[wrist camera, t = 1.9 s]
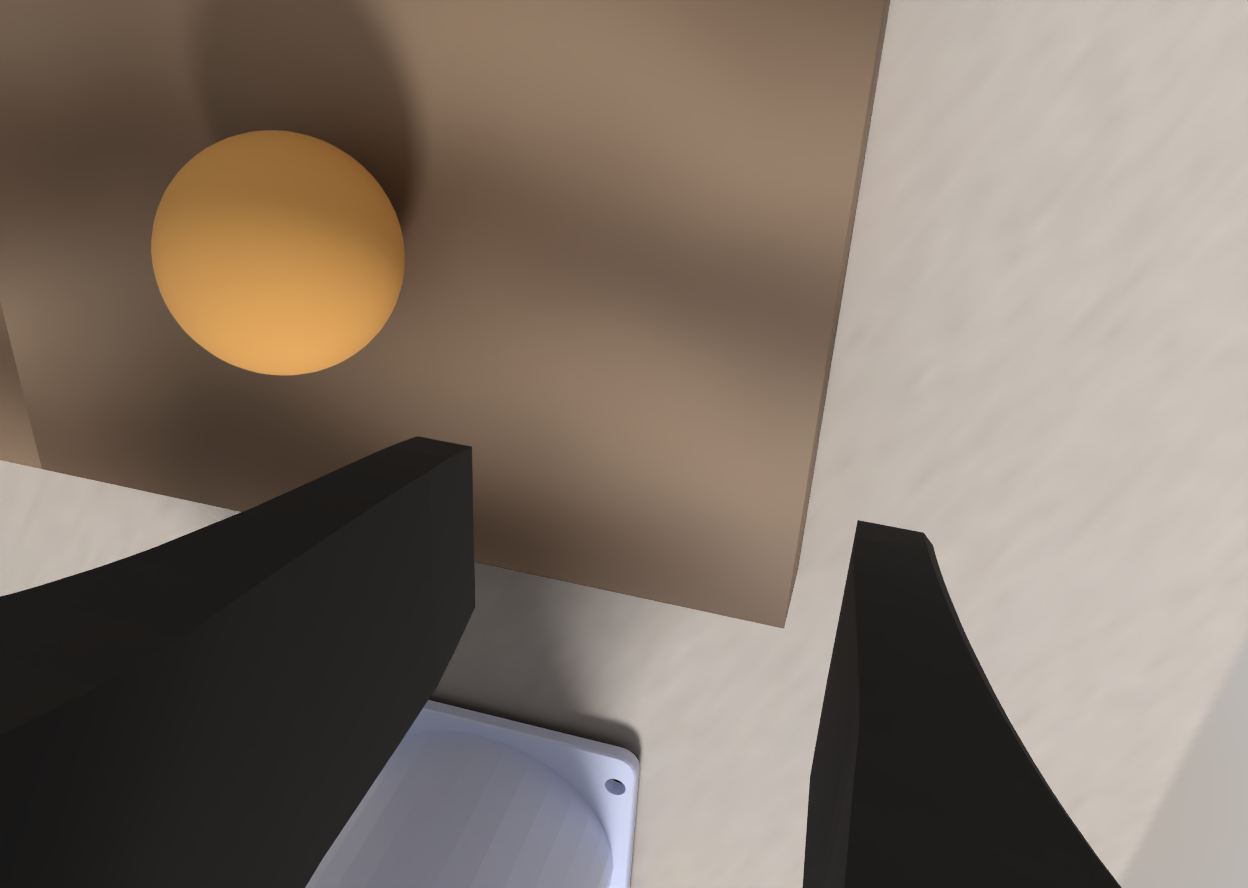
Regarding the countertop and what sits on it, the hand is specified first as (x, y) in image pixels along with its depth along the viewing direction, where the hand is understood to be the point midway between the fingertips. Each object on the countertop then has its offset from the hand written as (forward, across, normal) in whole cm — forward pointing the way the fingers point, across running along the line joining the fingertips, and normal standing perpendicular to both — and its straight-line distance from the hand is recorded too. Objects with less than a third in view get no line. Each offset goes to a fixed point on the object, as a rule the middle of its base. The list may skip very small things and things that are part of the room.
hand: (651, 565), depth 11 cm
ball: (+6, +8, 0) cm, 10 cm away
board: (+10, +12, 0) cm, 16 cm away
